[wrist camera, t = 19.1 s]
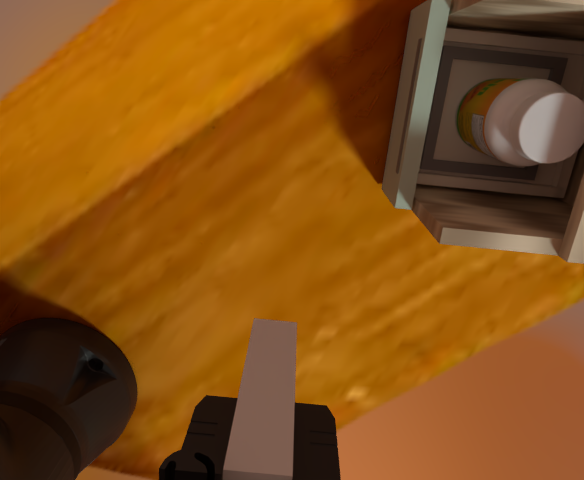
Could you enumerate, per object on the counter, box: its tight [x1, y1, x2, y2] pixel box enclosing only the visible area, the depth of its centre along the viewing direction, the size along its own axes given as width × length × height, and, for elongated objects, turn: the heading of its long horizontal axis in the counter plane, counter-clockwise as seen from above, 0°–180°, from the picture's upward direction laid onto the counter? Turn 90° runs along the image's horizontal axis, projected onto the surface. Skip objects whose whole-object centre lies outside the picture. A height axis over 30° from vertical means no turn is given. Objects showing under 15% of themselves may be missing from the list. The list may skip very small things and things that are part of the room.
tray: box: [382, 0, 584, 210], centre depth 34 cm, size 14×14×6 cm
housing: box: [412, 0, 584, 263], centre depth 30 cm, size 14×14×14 cm
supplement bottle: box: [455, 78, 584, 166], centre depth 30 cm, size 5×5×10 cm
